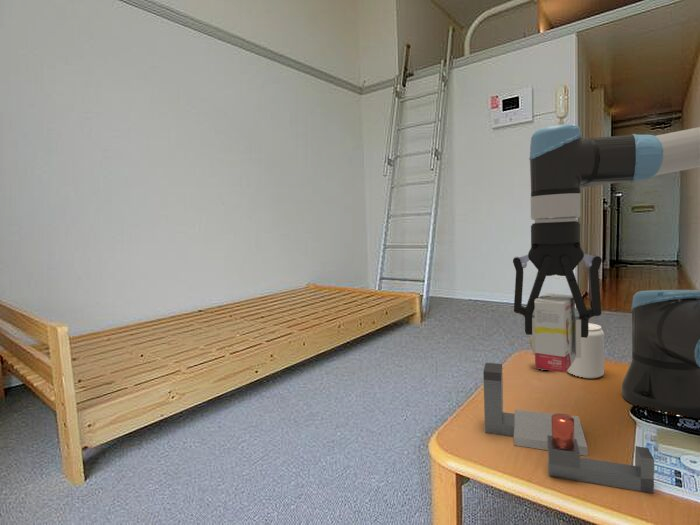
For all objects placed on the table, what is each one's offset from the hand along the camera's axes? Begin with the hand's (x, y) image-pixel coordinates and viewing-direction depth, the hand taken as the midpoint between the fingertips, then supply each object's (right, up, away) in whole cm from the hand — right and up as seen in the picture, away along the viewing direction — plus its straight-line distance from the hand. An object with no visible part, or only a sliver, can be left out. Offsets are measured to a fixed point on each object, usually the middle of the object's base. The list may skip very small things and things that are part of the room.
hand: (555, 353), depth 71 cm
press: (-3, -15, +3) cm, 15 cm away
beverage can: (+22, -12, +29) cm, 38 cm away
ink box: (0, -2, 0) cm, 2 cm away
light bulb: (+14, -12, +34) cm, 38 cm away
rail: (+1, -16, -11) cm, 19 cm away
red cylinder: (-4, -14, -10) cm, 17 cm away
